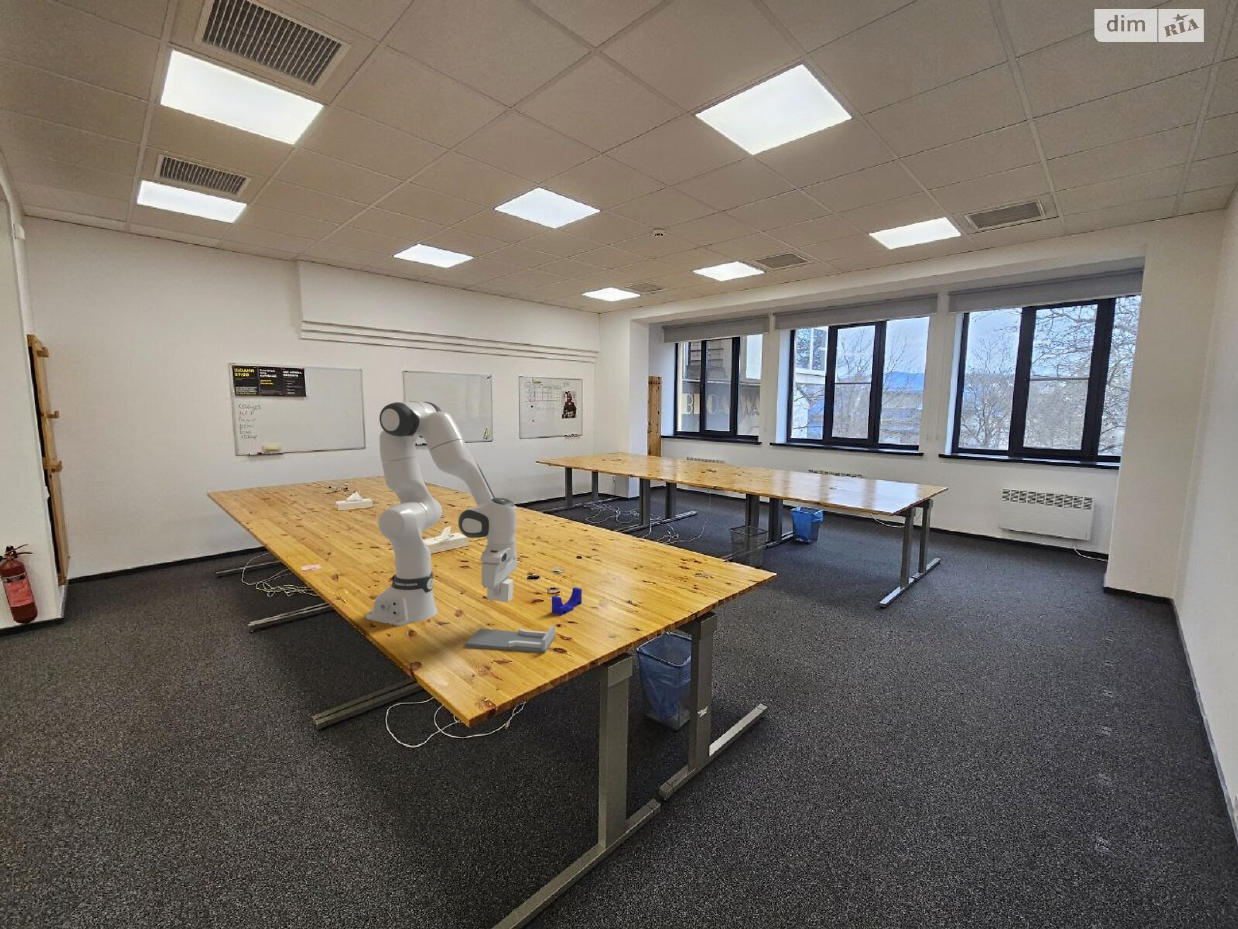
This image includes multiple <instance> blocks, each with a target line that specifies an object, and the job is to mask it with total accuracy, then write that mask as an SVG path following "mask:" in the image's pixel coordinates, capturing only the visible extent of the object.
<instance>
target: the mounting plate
mask: <svg viewBox="0 0 1238 929" xmlns="http://www.w3.org/2000/svg"><path fill="white" fill-rule="evenodd" d="M555 638H556V625H551V626H550V627H549V629H548V630H547V631H541V630H540V631H538V630H528V629H527V630H526V629H523V628H519V629H518V631H511V630H503V629H501V630H500V629H489V628H479V629H478V630H477V631H476V632H475V633H474V634H473V635H472V636H471V637H470V638H469V639H468V640H467V641H466V642H465V644H464V645H465V647H466V648H475V649H489V650H499V651H500V650H502V651H513V652H527V653H529V652H531V653H540V654H541V653H542V654H545V653H546V652H547V651H548V649H549V648H550V646H551V644H552V643H553V642H554V640H555Z"/></svg>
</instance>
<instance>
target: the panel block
mask: <svg viewBox="0 0 1238 929" xmlns="http://www.w3.org/2000/svg"><path fill="white" fill-rule="evenodd" d="M499 589H500V595H499V596H494V595H493V589H492V588H486V600H487V601H493V602H494V601H495V602H501V603H510V601H511V600H512V599H514V579H511V578H509V579H504V580H503V581H502V582H500V585H499Z"/></svg>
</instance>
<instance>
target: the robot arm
mask: <svg viewBox="0 0 1238 929" xmlns="http://www.w3.org/2000/svg"><path fill="white" fill-rule="evenodd" d="M378 421H379V424H380V427H381V429H382V430H383V431H381V433H380V434H379V454H380V460H381V466H382V470H383V475H384V480H385V485H386V486H387V488H388V489H390V490H391V491H393V493H395V495H396V496H397V498H398V500H399V502H400V503H397V504H394V505H392V506H389V508H387V509H386V510H384V511H383V512H382V513H381V514H380V516H379V517H378V522H377V524H378V529H379V531H380V533H381V534H382V535H383V536H384V537H385V538H387V539H388V541H389V542H390V545H391V546H392V549H393V554H394V562H395V574H394V575H392V576H391V577H390V578H388V583H390V582H391V585H390V586H389V587H387V588H386V589H385V590H384V591H382V592H381V593H380V594H378V595H377V597H376V598H375V599H374V603H373V608H372V609H371V610H369V611H368V613H367V614H365V615H366V616H365V620H369V621H371V622H372V621H373V622H378V623H384V624H387V623H389V625H392V624H393V626H398V627H399V626H404V625H408V624H411V623H417V622H418V623H419V622H423V621H426V620H428V619H431V618H433V617H435V616H436V615H437V614H438V612H439V610H438V607H437V604H436V601H435V595H434V591H433V590H434V575H433V574H434V573H433V571H432V552H431V548H430V546H428V545H425V542H424V539H423V535H422V534H423V531H426V530H428V529H431V528H432V527H434V526H435V525H436V524H438V522H439V521H440V520H441V519H442V516H443V508H442V505H441V504H440V502H439V501H438V500H437V499H435V498H434V497H433V496H432V495H431V493H430V491H429V489H428V487H427V486H426V483H425V481H424V478H423V475H422V470H421V467H420V462H419V458H418V457H419V456H418V452H417V448H416V443H417V439H418V438H421V439H423V440H424V441H425V443H426V445H427V448H428V451H429V454H430V456H431V459H432V460H433V462H434V463H433V464H435V466H436V467H437V468H438V470H440V471H441V472H443V473H445V474H448V475H452V476H455V477H456V478H459V479H461V480H462V481H463V482H464V483H465V484H466V485H467V487H468V489H469V491H470V494H471V496H472V497H473V499H474V502H475V503H476V505H475V506H473V507H469V508H467V509H465V510H464V511H462V512H461V513H460V514H459V516H458V524H457V525H458V528H459V530H460V531H459V532H461V533H462V535H463V536H464V537H466V538H469V539H477V538H478V539H479V538H485V539H487V541H486V546H485V549H484V551H483V552H482V553H481V555H480V562H481V563H482V564H481V585H482V587H483V588H485V589H487V588H492V589H493V595H494V596H499V595H500V589H499V585H500V582H502V581H503V580H504V579H510V577H509V576H510V575H511V574H512V573H513V572H515V571H516V570H517V568H518V567H517V566H518V553H517V547H516V545H517V538H516V530H517V521H518V520H517V508H516V505H515V503H514V502H513V501H512V500H510V499H507V498H504V497H496V496H495V495H494V493H493V490H492V489H491V487H490V485H489V483H488V481H487V479H486V477H485V475H484V473H483V471H482V469H481V467H480V466H479V464H478V463H477V462H476V460H475V459H474V458H473V456H472V454H471V452H470V450H469V449H468V446H467V444H466V442H465V440H464V437H463V434H462V432H461V430H460V428H459V427H458V424H457V422H456V421H455V419H454V418H453V416H452V415H451V414H450V413H449V412H446V411H442V409H441V408H440V407H439V406H438V405H436V404H435V403H432V402H430V401H420V400H419V401H417V400H410V401H409V400H408V401H402V402H401V401H400V402H393V403H388V404H387V405H385V406H384V407H383V408H381V411H380V413H379V420H378ZM425 619H426V620H425ZM422 620H423V621H422Z"/></svg>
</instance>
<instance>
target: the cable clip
mask: <svg viewBox="0 0 1238 929" xmlns="http://www.w3.org/2000/svg"><path fill="white" fill-rule="evenodd" d="M582 596H583V589H582V588H579V587H576V586H575V587H572V591H571V595H570V597H569V599H568V600H567V602H565V603H564V602H563V601H562V600H563V599H562V597H561V596H558V595H553V596H551V613H552V614H555V615H556V614H557V615H559V616H563V615H564V614H568V613H570V612H572V611H574V608H576V607H578V605H579V604H580V605H581V604H582V603H583V601H582V600H583V598H582Z"/></svg>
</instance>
